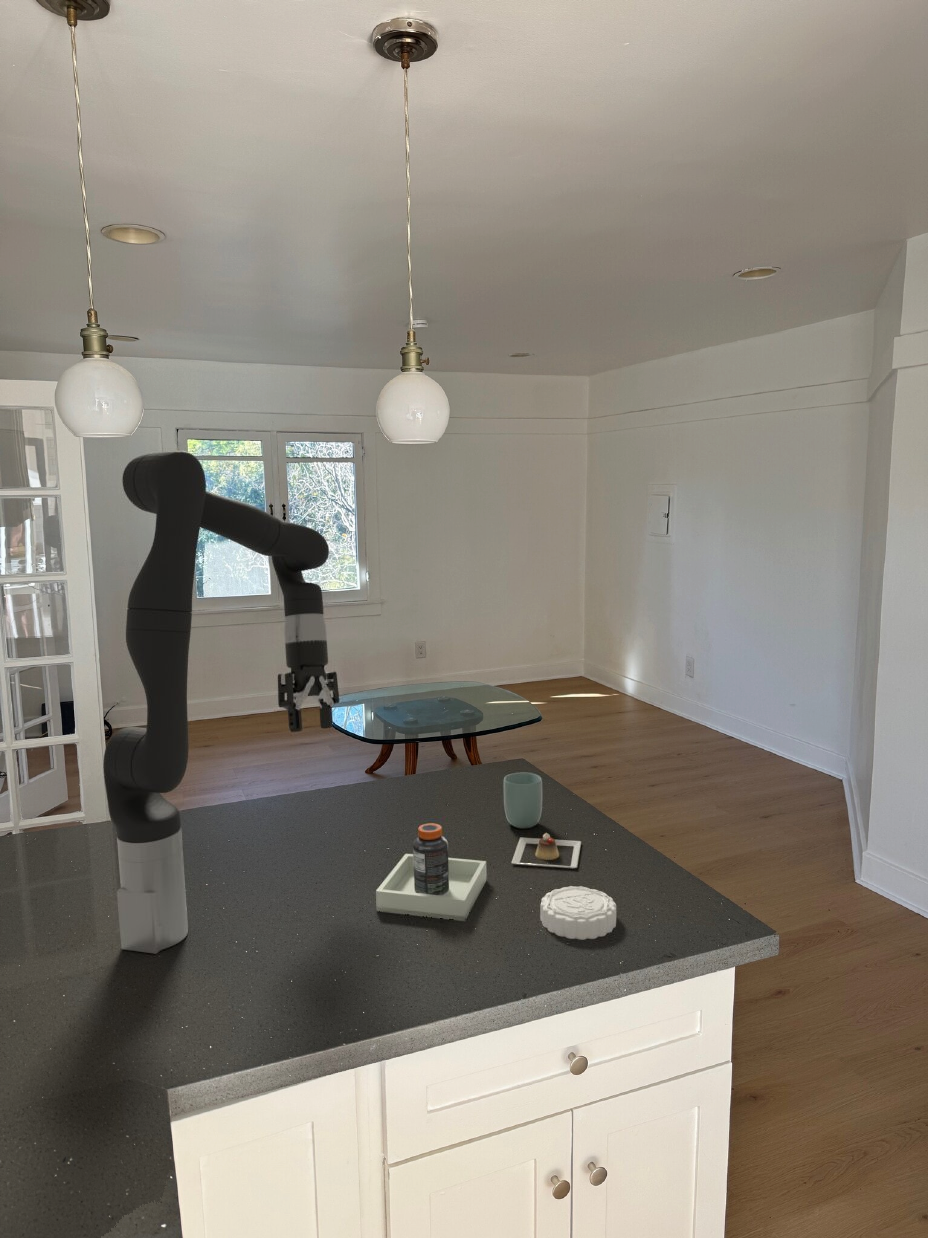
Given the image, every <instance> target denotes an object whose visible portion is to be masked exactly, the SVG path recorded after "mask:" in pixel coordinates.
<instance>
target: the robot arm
mask: <svg viewBox="0 0 928 1238" xmlns="http://www.w3.org/2000/svg"><path fill="white" fill-rule="evenodd" d="M122 488H123V491H124V494H125V495H126V497H127V499H128V501H129V502H131V504H133V505H134V506H135V507H136V508H138V509H140V510H141V511H144V512H147V513H149V514H150V513H151V514H154V515H155V516H156V517H155V527H154V528H155V529H154V530H155V531H154V536H153V541H152V545H151V548H150V550H149V553H148V555H147V557H146V558H145V561H144V563H143V565H142V566H141V568H140V570H139V572H138V574H137V576H136V578H135V579H134V582H133V584H132V586H131V589H130V592H129V594H128V595H129V596H128V601H127V611H126V621H125V622H126V623H125V643H126V646H127V647H126V648H127V650H128V651H127V652H128V654H129V656H130V659H131V660H132V663H133V665H134V668H135V670H136V672H137V675H138V677H139V679H140V681H141V683H142V684H141V685H142V687H143V690H144V693H145V698H146V713H147V714H146V727H138V726H137V727H136V726H129V727H128V726H127V727H123V728H121V729H119V730H117V731H115V732H114V734H113V735H112V736H111V737H110V739H109V741H107V745H106V746H105V750H104V754H103V768H102V769H103V778H104V779H103V780H104V787H105V792H106V799H107V800H106V801H107V807H108V813H109V817H110V820H111V822H112V823H113V825H114V827H115V830H116V831H115V833H116V842H117V854H118V855H117V857H118V867H119V869H118V870H119V878H120V879H119V881H120V888H119V889H117V891H116V893H117V894H116V895H117V896H116V897H117V907H118V918H119V919H118V921H119V922H118V923H119V933H120V946H121V950H126V951H131V952H132V951H134V952H142V953H147V954H148V953H149V954H158V953H159V952H160V951H162V950H164V949H168V948H170V947H173V946H175V945H176V944H179V943H180V942H182V941H184V939H185V938H186V936H187V935H188V933H189V925H188V911H187V910H188V908H187V898H186V897H187V895H186V894H187V893H186V883H185V882H186V879H185V866H184V853H183V852H184V851H183V836H182V834H183V833H182V820H181V813H180V810H179V809H178V807H177V806H175V805H174V804H173V803H172V802H170V801H168V800H167V799H166V798H165V797H164V796H163V795H162V794H167V793H170V792H172V791H174V790H175V789H176V788H177V787H178V786H180V784H181V782H182V780H183V779H184V777H185V775H186V774H185V773H186V771H187V768H188V767H187V766H188V760H189V719H188V717H189V716H188V676H189V675H188V674H189V673H188V672H189V670H188V669H189V652H190V641H191V635H192V633H191V631H192V618H193V616H192V615H193V613H192V612H193V591H194V590H193V589H194V579H195V570H196V558H197V557H196V556H197V548H198V540H199V536H200V531H201V530H200V529H204V530H206V531H209V532H211V533H214V534H216V535H218V536H222V537H223V538H226V539H227V540H230V541H232V542H234V543H235V544H239V545H241V546H243V547H244V548H246V549H249V550H251V551H253V552H255V553H258V554H260V555H261V556H266V557H271V561H272V566H273V568H274V571H275V575H276V577H277V581H278V583H279V586H280V587H279V588H280V590H281V592H282V593H281V594H282V595H283V608H284V609H283V610H284V628H283V631H284V648H285V650H284V651H285V663H286V667H287V668H289V669H290V672H282V673H281V672H280V673H278V674H277V698H278V699H277V702H278V707H279V708H283V709H285V710H286V711H287V717H288V727H289V731H290V732H292V733H296V732H298V733H299V732H302V731H303V720H302V710H301V707H302V705H303V702H304V701H305V700H306V699H307V698H308V697H312V699H313V700H315V701H316V703H317V704H318V706H319V707H320V708H319V721H320V724H319V725H320V728H321V729H331V728H333V722H334V721H333V707H334V706H335V705H336V704H339V702H340V693H339V684H338V673H337V671H335V670H333V671H326V670H325V666H327V665H328V664H329V654H328V651H329V650H328V639H327V636H328V635H327V625H326V620H325V614H324V601H323V590H322V588H321V586H320V585H319V584H317V583H314V582H306V580H305V578H304V576H303V571H309V570H314V569H317V568H320V567H322V566H323V565H324V564H325V563H326V562H327V560H328V558H329V555H330V549H329V548H330V547H329V544H328V541H327V540H326V539H325V537H324V536H323V535H322V534H321V533H320V532H319V531H317V530H315V529H313V528H312V527H309V526H305V525H302V524H298V523H295V522H291V521H290V522H289V521H286V520H282V519H279V518H277V517H276V516H274V515H272V514H270V513H269V512H267V511H265V510H263V509H261V508H259V507H257V506H255V505H251V504H249V503H246V502H243V501H240V500H238V499H233V498H230V497H226V496H223V495H220V494H216V493H213V492H211V491H207V481H206V473H205V471H204V468H203V465H202V464H201V461H200V460H199V459H198V458H197V456H195V455H194V454H193V453H191V452H189V451H186V450H170V451H159V452H152V453H146V454H143V455H139V456H136V457H135V458H134V459H131V461H129V462H128V463H127V465H126V466H125V468H124V470H123V473H122ZM331 691H332V695H331ZM285 696H286V697H285Z"/></svg>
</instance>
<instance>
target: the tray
mask: <svg viewBox="0 0 928 1238" xmlns="http://www.w3.org/2000/svg"><path fill="white" fill-rule="evenodd" d="M448 863H449V864H448V866H449V890H448V892H447V893H445V894H444V895H441V896H440V895H430V894H421V893H416V892H415V887H414V858H413V853H405V854H404V855H403V856H402V857H401V859H400V860H399V862H397V864H396V865H395V866H394V868H393V869H392V870H391V871H390V872H389V874H388V875H387V876H386V877H385V879H384V880H383V882H382V883H380V885H379V887H378V888H377V889H376V890H375V902H376V904H375V906H376V912H379V911H380V912H381V913H389V914H390V913H391V914H398V915H405V914H406V915H407V914H409V915H408V916H415V917H423V916H424V917H425V918H431V917H432V919H433V918H434V919H440V918H443V919H442V920H449V919H454V920H453V921H459V922H466V920H467V918H468V916H469V914H470V913H471V910H472V909H473V907H474V905H475V903H476V901H477V899H478V898H479V895H480V894H481V892H482V890H483V887H484V886H485V884H486V882H487V878H488V877H487V874H488V873H487V860H475V859H467V858H466V859H465V858H454V857H448ZM469 912H470V913H469ZM426 916H427V917H426ZM465 919H466V920H465Z"/></svg>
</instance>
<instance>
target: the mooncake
mask: <svg viewBox="0 0 928 1238" xmlns="http://www.w3.org/2000/svg"><path fill="white" fill-rule="evenodd" d="M540 902H541V903H540V911H539V912H540V914H539V915H540V922H541V921H542V922H541V923H542V926H543V927H544V928H546V929H547V931H548V932H550V933H553V934H555V935H556V936H559V937H565V938H567V939H571V940H573V939H577V940H583V941H584V940H586V939H589V940H594V939H597V938H598V937H604V936H606V935H607V934H608V933H609V934H610V933H612V932H613V929H614V928H616V927H617V904H616V902H615V901H614V899H613V898H612V897H611V896H609V895H608V894H607V893H605V892H603V891H602V890H601V891H600V890H598V889H597V888H596V889H594V888H591V889H590V888H589V887H585V886H573V885H570V886H565V887H561V888H559V889H558V888H555V889H553V890H551V892H547V893H546V894H545V895H544V896H543V897H542V898H541V901H540Z"/></svg>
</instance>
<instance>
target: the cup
mask: <svg viewBox="0 0 928 1238" xmlns="http://www.w3.org/2000/svg"><path fill="white" fill-rule="evenodd" d="M503 807H504V813H505V817H506V819H507V822H508V823H509V824H510V825H511V826H513V827H514V828H518V829H529V828H533V827H535V826H536V825H538V823H539V822H540V819H541V817H542V816H541V815H542V812H543V811H542V810H543V780H542V777H541V776H540V775H538V774H536V773H532V772H524V771H523V772H522V771H521V772H515V773H514V772H513V773H510V774H507V775H505V776H504V778H503Z"/></svg>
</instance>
